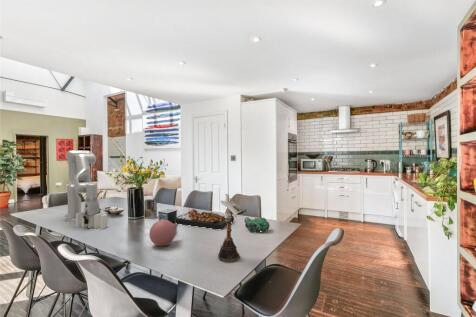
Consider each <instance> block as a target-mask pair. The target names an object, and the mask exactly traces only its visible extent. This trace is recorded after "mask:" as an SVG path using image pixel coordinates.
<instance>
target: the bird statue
mask: <svg viewBox="0 0 476 317" xmlns="http://www.w3.org/2000/svg"><path fill="white" fill-rule="evenodd" d="M235 199H236V198H235V197H234V195H233V196H232V198H231V197H230V196H229V194H228V193H225V200H220V203H221V204H222V205H223V206H225V207H226V208H227V212H226V213H225V215H224V216H225V217H224V218H225V222H227V227H226V229H225V230H226V236H225V237H224V239H223V243H222V244H221V246H220V249H219V251H218V255H217V258H218V261H219V260H220V261H219V262H222V261H223V263H226V262H228V263H236V262H238V259H239V260H240V259H241V255H240V253H239V252H238V250H237V246H236V244H235V243H234V241H233V236H232V228H231V227H232V224H231V222H233V218H234V219H235V218H237V217H238V216H239V215H242V214H244V213H246V212H247V208H243V207H242V206H240V205H239V204H238V203H237V202H236V201H235ZM233 223H234V222H233ZM235 261H236V262H235Z"/></svg>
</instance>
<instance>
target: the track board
mask: <svg viewBox="0 0 476 317" xmlns="http://www.w3.org/2000/svg"><path fill="white" fill-rule="evenodd" d="M78 228H81V229H85V228H88V226H87V227H84V228H82V226H79V227H78ZM93 229H94V230H97V229H101V227H99V228H96V229H95V228H94V227H93ZM105 229H106V228H104V229H103V230H105Z"/></svg>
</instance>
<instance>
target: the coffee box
mask: <svg viewBox="0 0 476 317" xmlns="http://www.w3.org/2000/svg"><path fill="white" fill-rule="evenodd" d="M157 201H158V200H157V199H156V198H155V199H154V198H152V199H145V200H144V201H143V202H144V204H143V206H144V208H143V209H144V212H143V214H144V218H143V219H144V220H146V219H147V220H149V219H150V220H151V219H152V220H154V218H155V219H157V218H158V211H157V210H158V202H157Z"/></svg>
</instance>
